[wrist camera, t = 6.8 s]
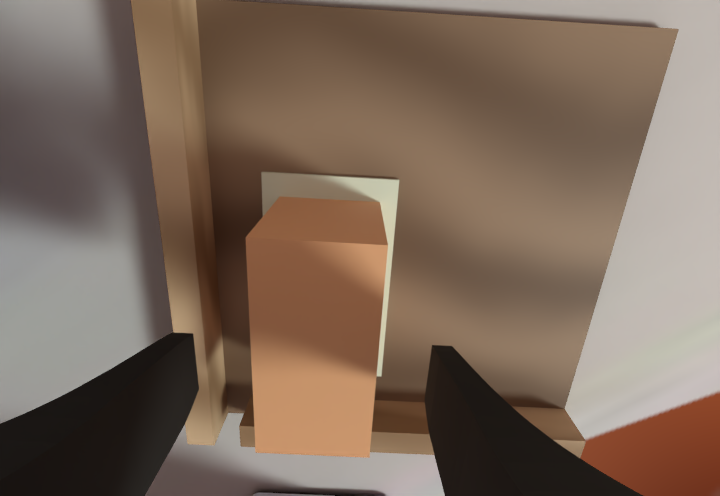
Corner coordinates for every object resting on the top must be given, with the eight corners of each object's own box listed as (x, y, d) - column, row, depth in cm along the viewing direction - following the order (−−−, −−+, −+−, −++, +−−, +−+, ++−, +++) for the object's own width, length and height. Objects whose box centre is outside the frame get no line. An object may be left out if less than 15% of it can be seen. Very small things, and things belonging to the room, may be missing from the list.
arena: (553, 418, 21) (579, 461, 18) (208, 402, 20) (187, 444, 18) (666, 31, 14) (728, 17, 12) (168, -1, 14) (127, -21, 12)
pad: (381, 373, 19) (381, 376, 19) (268, 368, 19) (267, 371, 19) (398, 179, 16) (399, 180, 15) (262, 171, 16) (261, 172, 15)
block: (279, 196, 16) (245, 237, 11) (379, 202, 16) (388, 245, 11) (282, 363, 19) (255, 452, 14) (367, 367, 19) (369, 457, 14)
